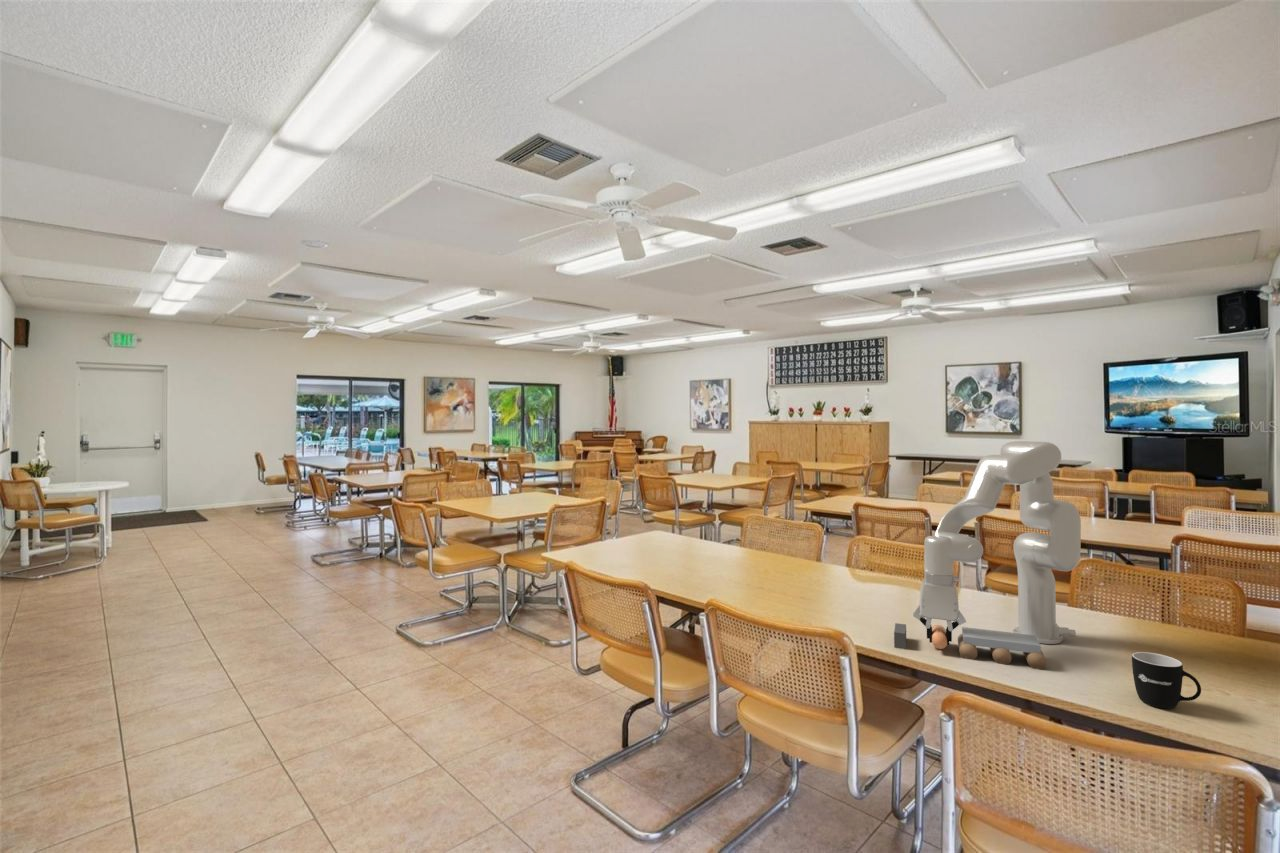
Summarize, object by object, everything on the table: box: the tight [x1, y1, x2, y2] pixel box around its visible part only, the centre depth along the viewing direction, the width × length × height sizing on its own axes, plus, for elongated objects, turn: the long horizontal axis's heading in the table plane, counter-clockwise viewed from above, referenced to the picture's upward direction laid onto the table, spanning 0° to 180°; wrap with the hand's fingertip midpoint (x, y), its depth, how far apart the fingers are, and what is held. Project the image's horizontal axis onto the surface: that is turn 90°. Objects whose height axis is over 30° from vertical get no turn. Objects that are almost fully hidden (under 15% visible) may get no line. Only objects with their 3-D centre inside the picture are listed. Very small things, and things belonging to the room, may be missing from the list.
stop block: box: [893, 622, 907, 650], centre depth 177 cm, size 3×9×5 cm, turn 154°
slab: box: [961, 626, 1042, 654], centre depth 166 cm, size 18×9×2 cm, turn 64°
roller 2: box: [957, 633, 978, 661], centre depth 169 cm, size 10×4×4 cm, turn 154°
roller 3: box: [1022, 650, 1048, 671], centre depth 162 cm, size 10×4×4 cm, turn 154°
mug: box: [1131, 651, 1202, 709], centre depth 137 cm, size 12×9×10 cm
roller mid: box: [989, 648, 1012, 666], centre depth 166 cm, size 10×4×4 cm, turn 154°
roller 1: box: [931, 624, 948, 650], centre depth 172 cm, size 10×4×4 cm, turn 154°
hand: (939, 641), depth 172 cm, fingers closed on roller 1, 3 cm apart
